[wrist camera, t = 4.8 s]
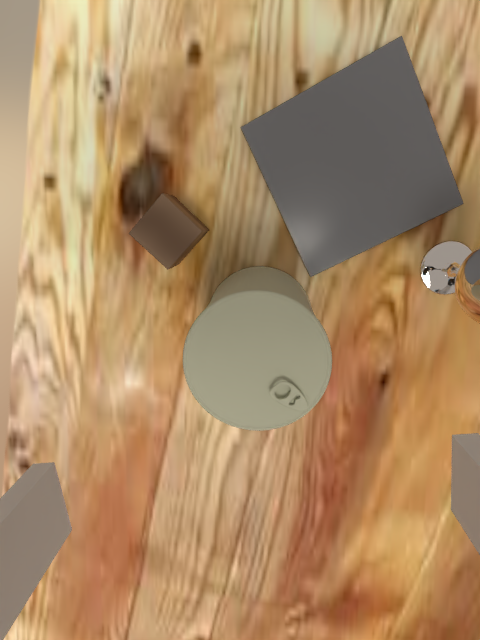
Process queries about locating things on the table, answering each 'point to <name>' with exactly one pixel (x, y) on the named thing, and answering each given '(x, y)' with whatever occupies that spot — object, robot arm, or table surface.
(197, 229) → the walnut block
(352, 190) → the coaster
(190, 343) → the can
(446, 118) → the table surface
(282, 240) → the table surface
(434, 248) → the wineglass
